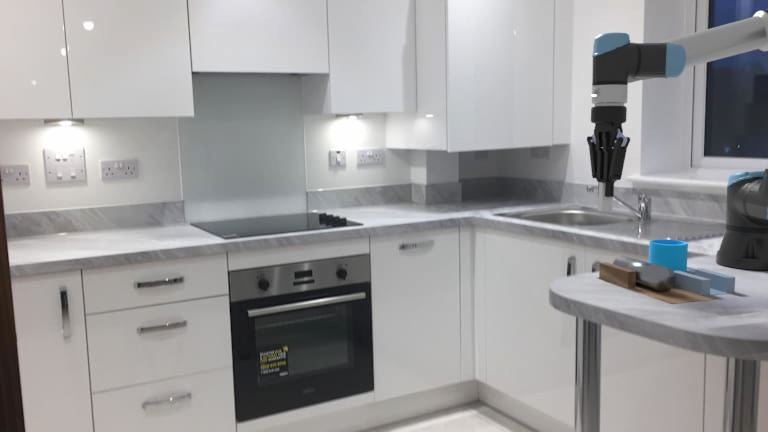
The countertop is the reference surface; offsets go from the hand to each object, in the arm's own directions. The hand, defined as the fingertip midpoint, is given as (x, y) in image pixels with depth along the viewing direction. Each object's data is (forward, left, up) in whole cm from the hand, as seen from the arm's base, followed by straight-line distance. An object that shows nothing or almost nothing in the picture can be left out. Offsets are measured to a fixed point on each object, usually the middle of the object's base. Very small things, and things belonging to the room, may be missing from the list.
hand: (605, 210), depth 158 cm
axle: (0, +14, -14) cm, 20 cm away
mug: (-16, +3, -16) cm, 23 cm away
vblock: (-9, +21, -16) cm, 27 cm away
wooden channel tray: (0, +16, -16) cm, 22 cm away
